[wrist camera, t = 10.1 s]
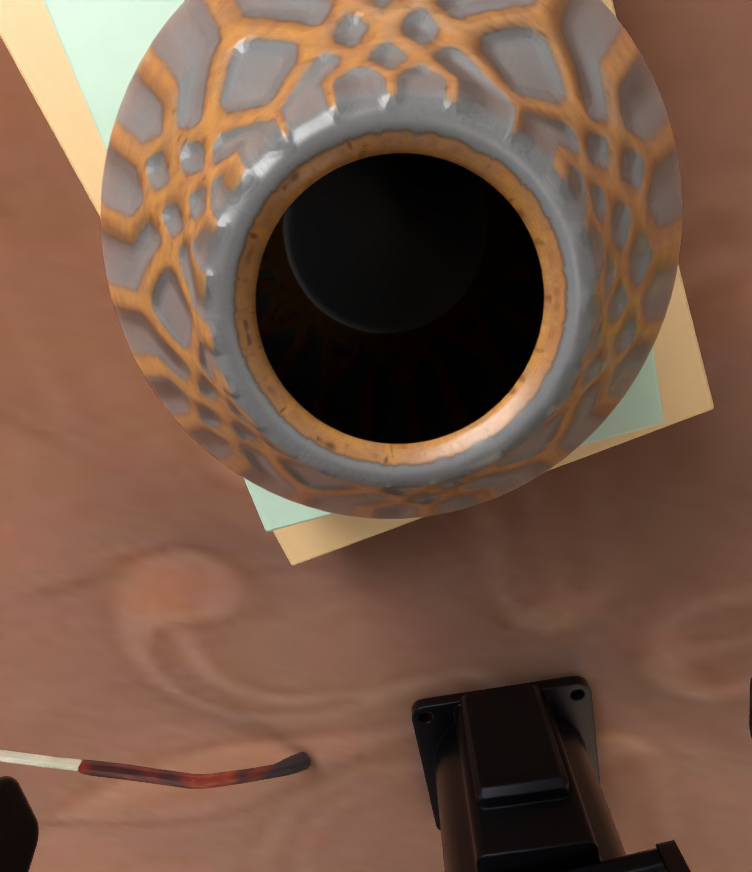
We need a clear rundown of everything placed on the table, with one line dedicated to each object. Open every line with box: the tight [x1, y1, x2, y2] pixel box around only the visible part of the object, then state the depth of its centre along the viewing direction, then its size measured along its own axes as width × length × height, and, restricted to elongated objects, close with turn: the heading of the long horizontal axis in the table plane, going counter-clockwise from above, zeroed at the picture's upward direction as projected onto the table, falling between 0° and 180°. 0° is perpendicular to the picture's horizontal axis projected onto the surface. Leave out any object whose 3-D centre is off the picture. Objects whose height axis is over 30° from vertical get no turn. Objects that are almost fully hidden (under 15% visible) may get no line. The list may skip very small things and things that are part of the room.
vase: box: [101, 0, 683, 519], centre depth 8 cm, size 7×7×9 cm
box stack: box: [0, 0, 714, 566], centre depth 15 cm, size 15×12×6 cm
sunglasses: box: [0, 750, 311, 789], centre depth 24 cm, size 14×16×5 cm
